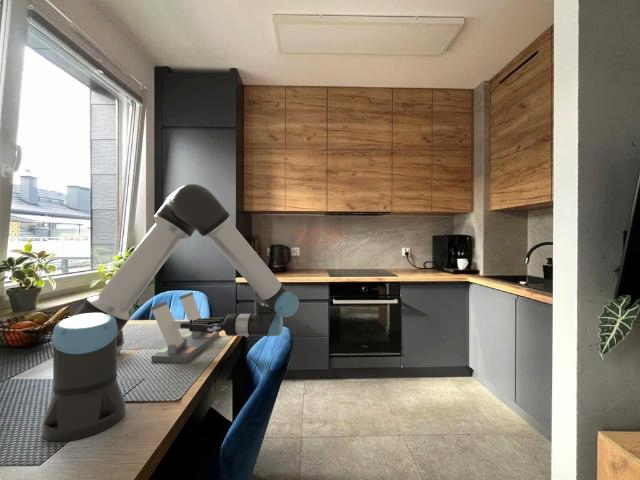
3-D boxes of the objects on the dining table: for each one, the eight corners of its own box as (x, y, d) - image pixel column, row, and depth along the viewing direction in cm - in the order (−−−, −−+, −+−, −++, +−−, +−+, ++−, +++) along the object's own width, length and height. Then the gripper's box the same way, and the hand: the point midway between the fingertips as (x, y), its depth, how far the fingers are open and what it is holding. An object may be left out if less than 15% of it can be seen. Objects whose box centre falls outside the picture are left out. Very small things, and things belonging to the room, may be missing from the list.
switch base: (219, 335, 137) (219, 324, 137) (186, 362, 107) (186, 347, 107) (191, 335, 137) (191, 323, 137) (151, 362, 107) (151, 347, 107)
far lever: (206, 330, 134) (192, 291, 134) (200, 335, 128) (185, 294, 128) (200, 333, 134) (186, 294, 134) (193, 337, 128) (179, 296, 128)
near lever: (186, 344, 116) (166, 301, 116) (177, 350, 110) (156, 304, 110) (179, 347, 116) (159, 304, 116) (170, 353, 110) (149, 307, 110)
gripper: (232, 341, 105) (163, 340, 107) (244, 330, 118) (183, 329, 120) (232, 318, 105) (163, 318, 107) (244, 309, 118) (182, 309, 120)
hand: (173, 324), depth 113 cm, fingers closed
